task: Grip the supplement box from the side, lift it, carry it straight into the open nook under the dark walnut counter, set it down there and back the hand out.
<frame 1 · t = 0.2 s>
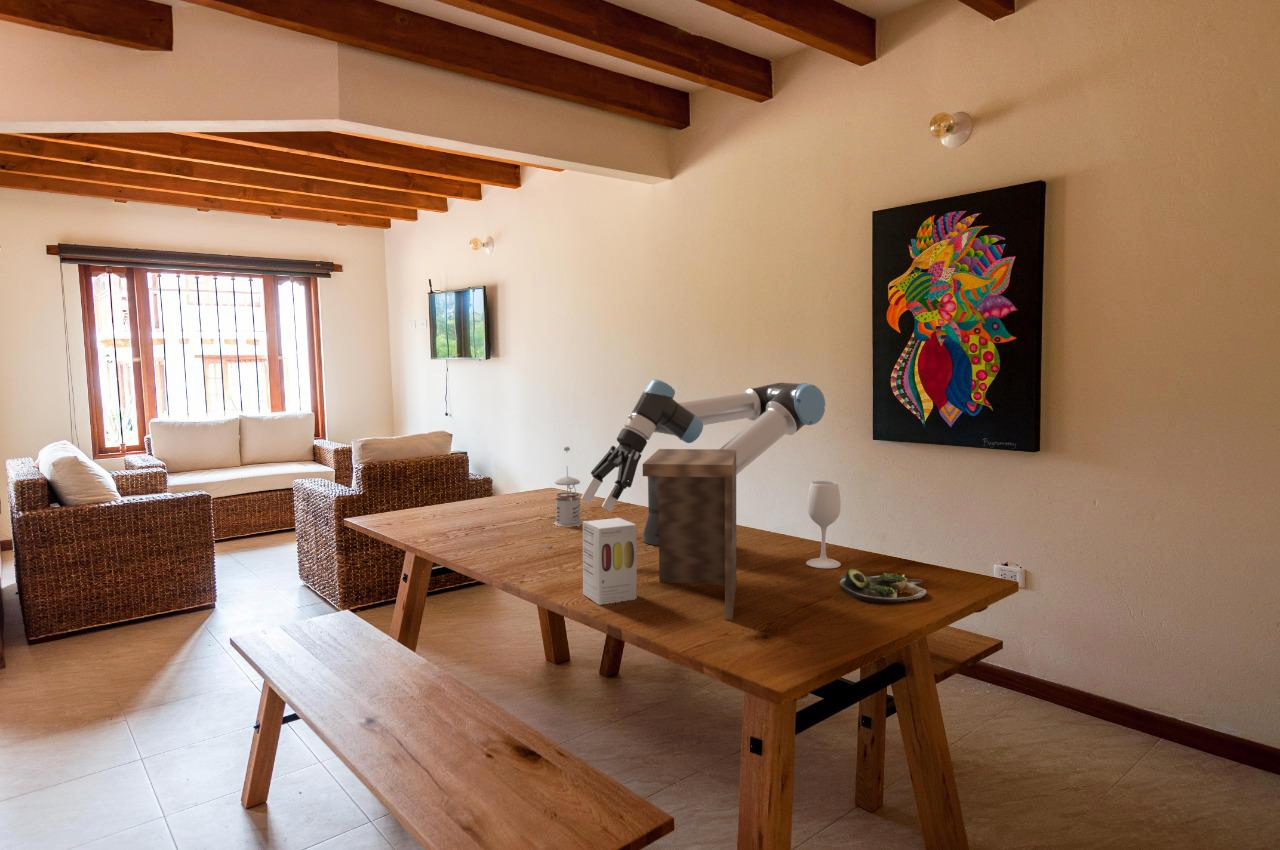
hand: (595, 505, 199), 15 cm above the table, tool tilted 35°, fingers open, 13 cm apart
french press: (569, 524, 250), on the table
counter: (693, 598, 171), on the table
salad plate: (879, 594, 175), on the table
wineglass: (823, 565, 198), on the table
supplement box: (609, 597, 173), on the table
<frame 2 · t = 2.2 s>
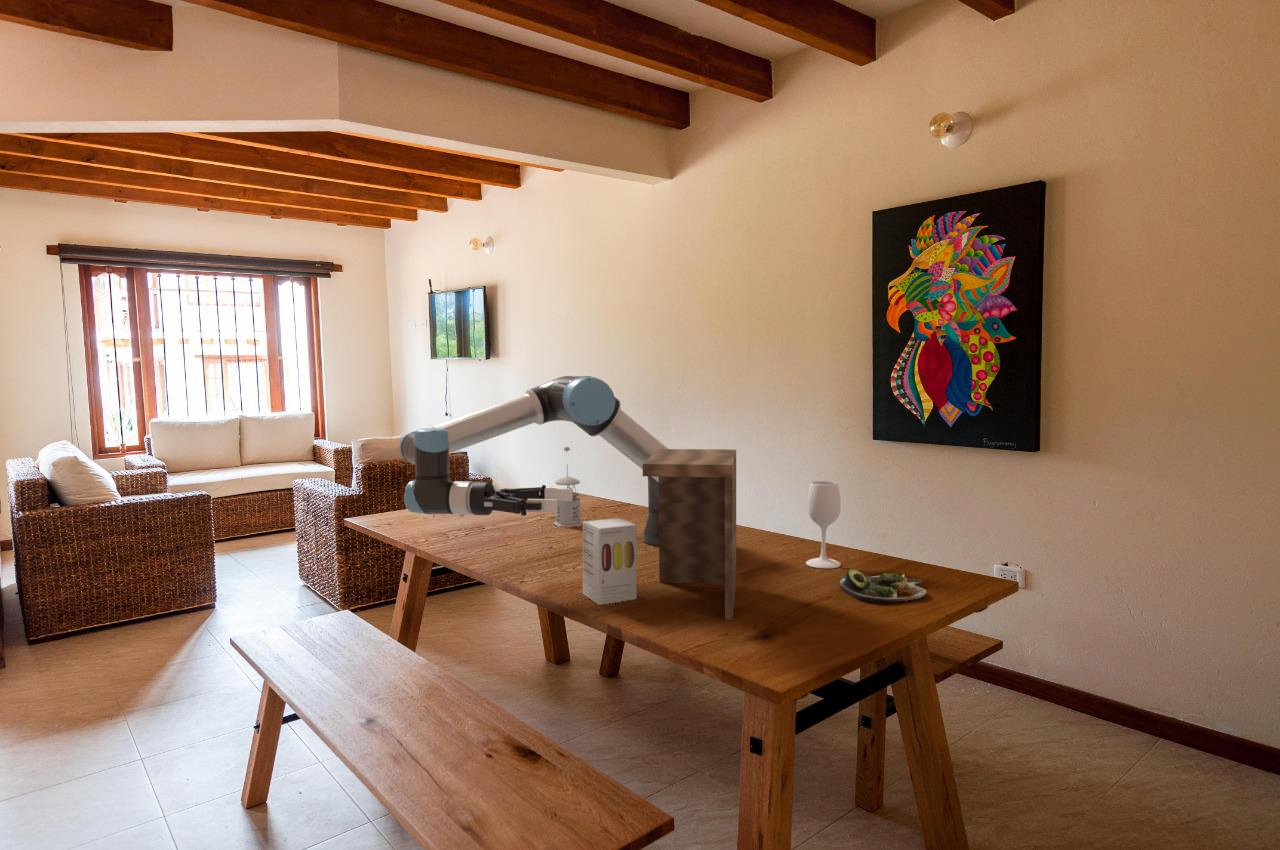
hand: (565, 500, 172), 22 cm above the table, tool horizontal, fingers open, 13 cm apart
nothing on the table moved.
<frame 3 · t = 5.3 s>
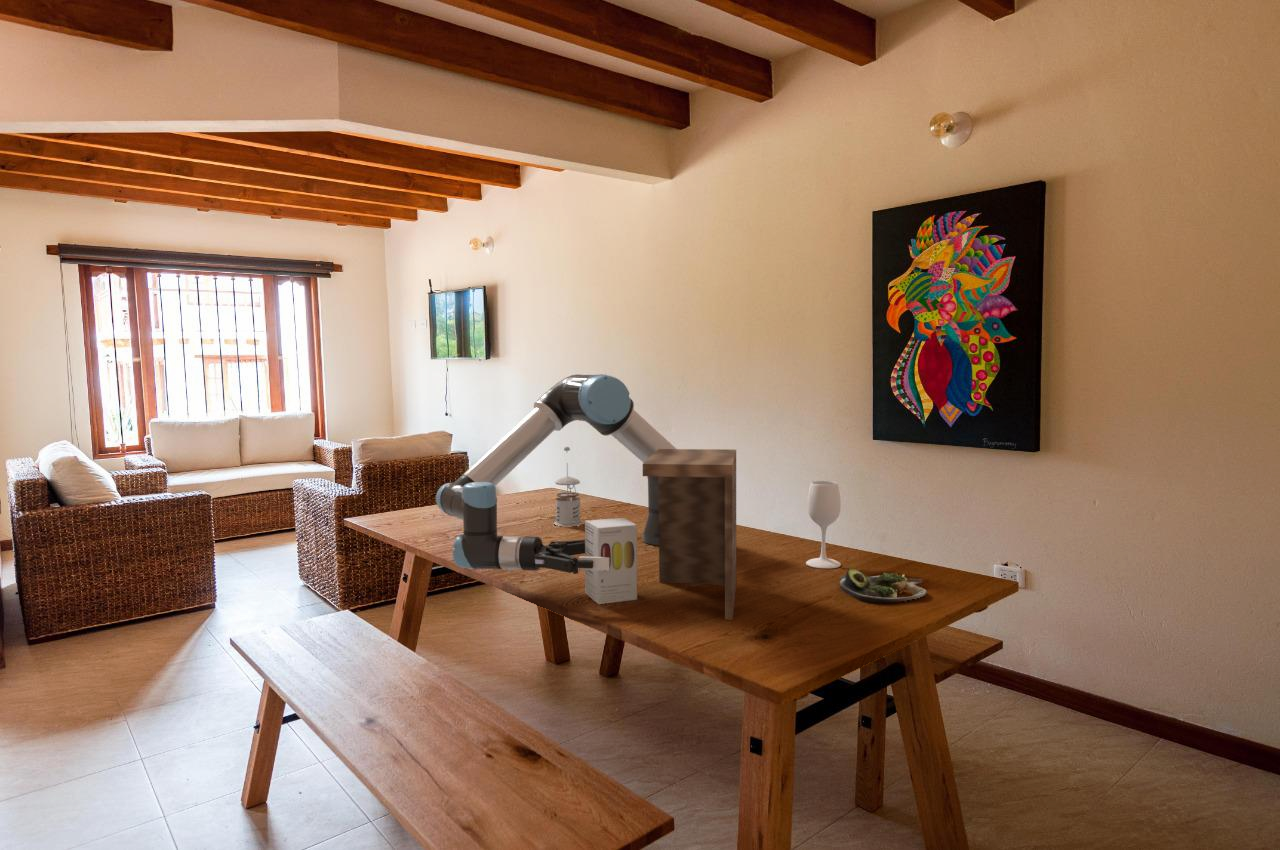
hand: (615, 555, 171), 9 cm above the table, tool horizontal, fingers open, 13 cm apart
supplement box: (611, 597, 173), on the table, touching gripper
everything else where it was.
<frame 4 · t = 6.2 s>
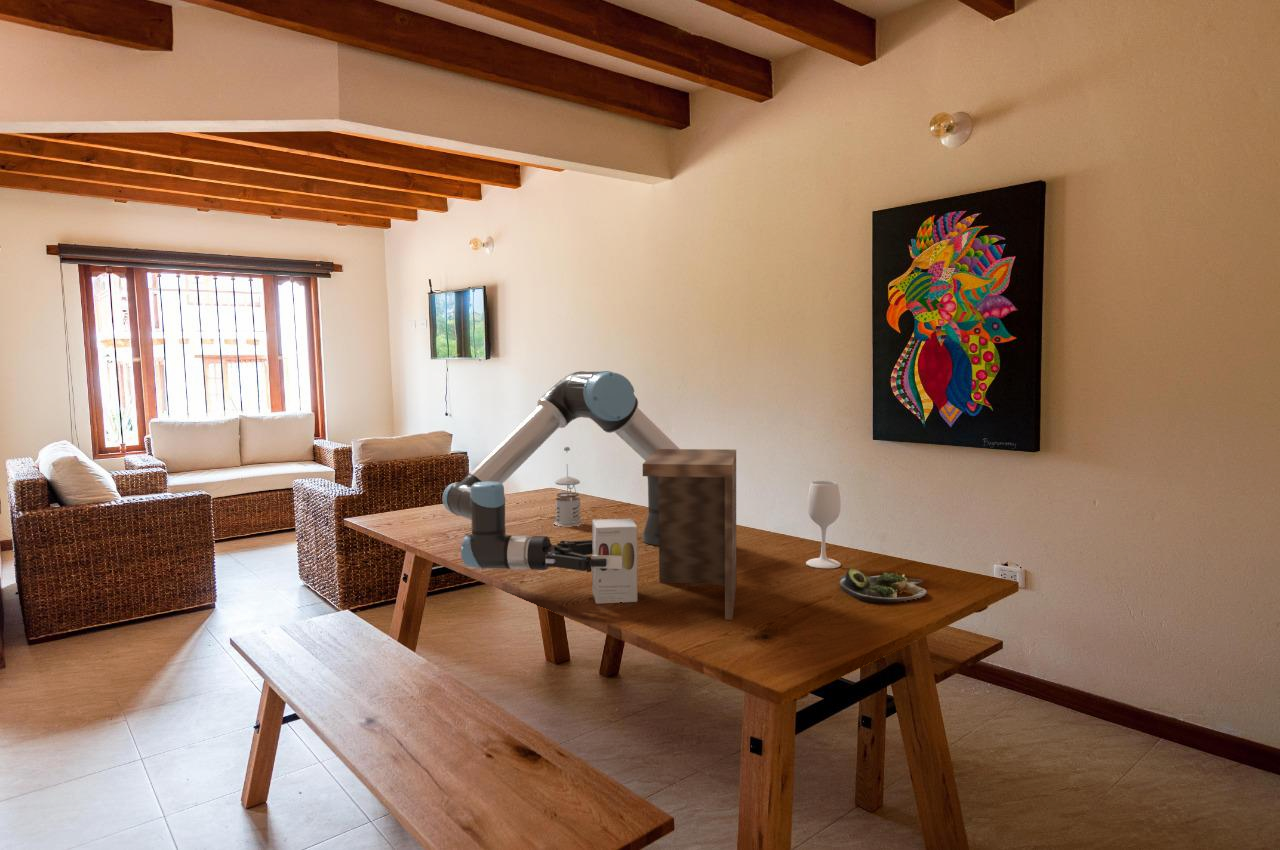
hand: (627, 555, 171), 10 cm above the table, tool horizontal, fingers closed on supplement box, 11 cm apart
supplement box: (614, 597, 173), on the table, touching gripper
everything else where it was.
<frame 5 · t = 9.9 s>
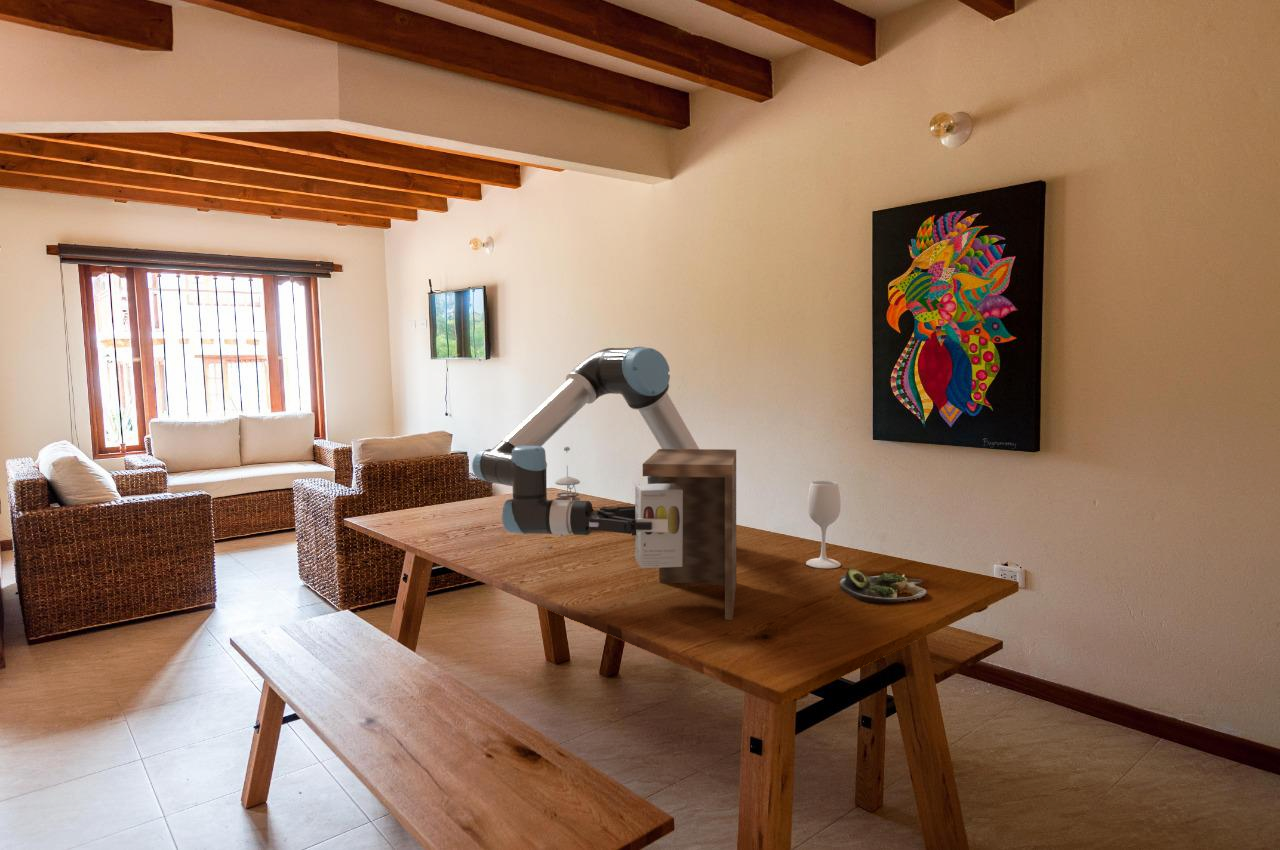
hand: (671, 519, 168), 18 cm above the table, tool horizontal, fingers closed on supplement box, 11 cm apart
supplement box: (658, 563, 169), point 8 cm above the table, touching gripper
everything else where it was.
when the fingers open (11 cm above the table, at t = 13.7 s): supplement box drops 1 cm, on the table.
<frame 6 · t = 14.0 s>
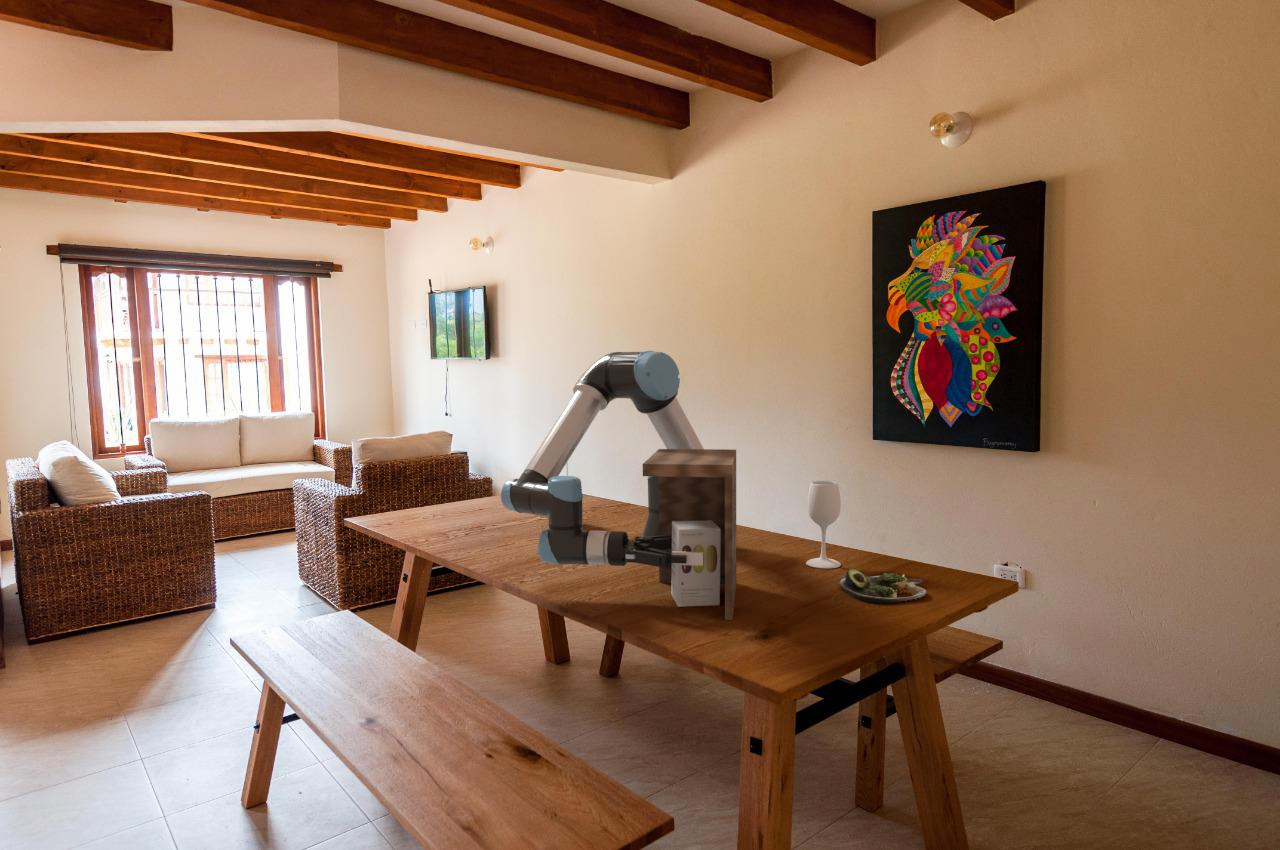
hand: (705, 550, 168), 11 cm above the table, tool horizontal, fingers open, 13 cm apart
supplement box: (695, 600, 170), on the table
everything else where it was.
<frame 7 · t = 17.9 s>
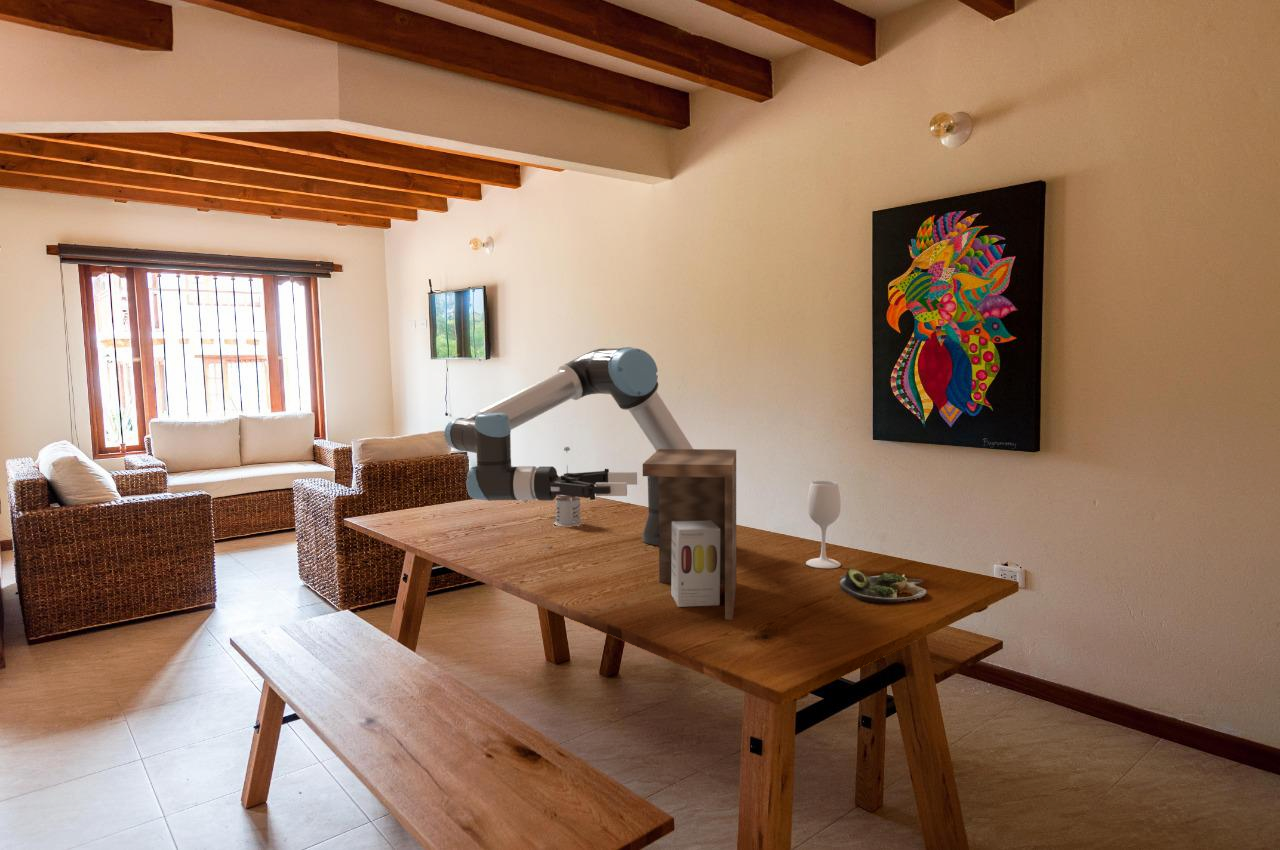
hand: (632, 483, 169), 26 cm above the table, tool horizontal, fingers open, 13 cm apart
nothing on the table moved.
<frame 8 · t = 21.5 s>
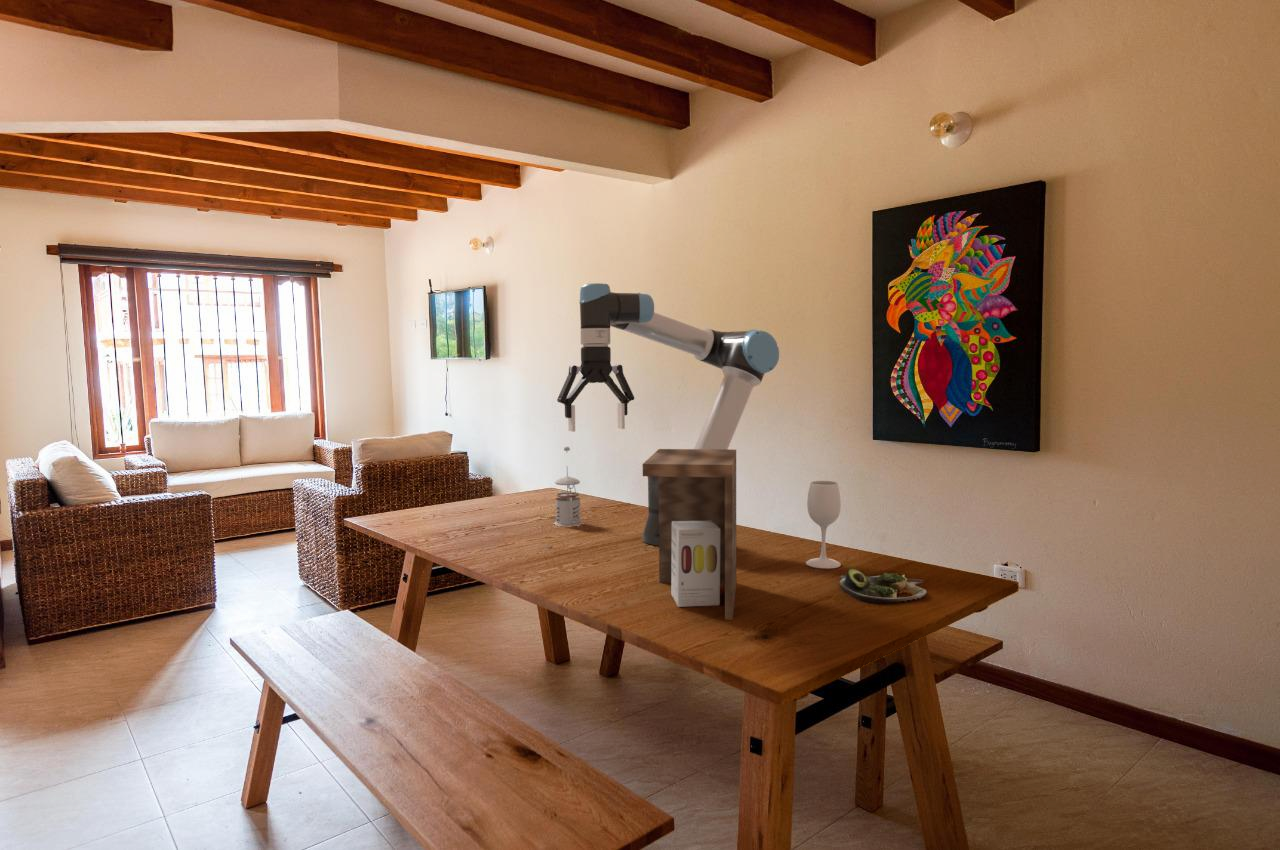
hand: (596, 429, 198), 35 cm above the table, tool pointing down, fingers open, 13 cm apart
nothing on the table moved.
at the end: supplement box inside the target area on the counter (0.4 cm from its centre), point 0.0 cm above the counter's base; supplement box tilted 0°; the gripper is holding nothing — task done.
